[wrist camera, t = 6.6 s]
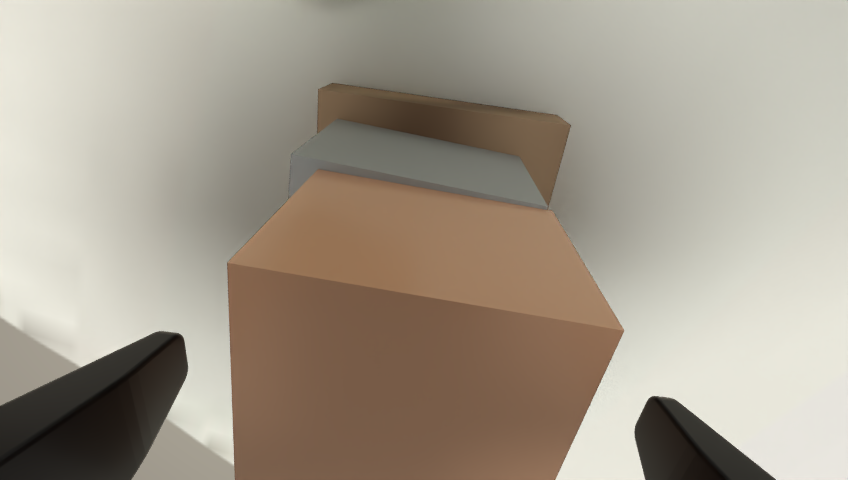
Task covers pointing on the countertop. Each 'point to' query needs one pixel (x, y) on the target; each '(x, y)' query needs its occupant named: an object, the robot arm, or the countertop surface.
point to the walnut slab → (455, 125)
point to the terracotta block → (410, 337)
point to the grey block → (414, 163)
